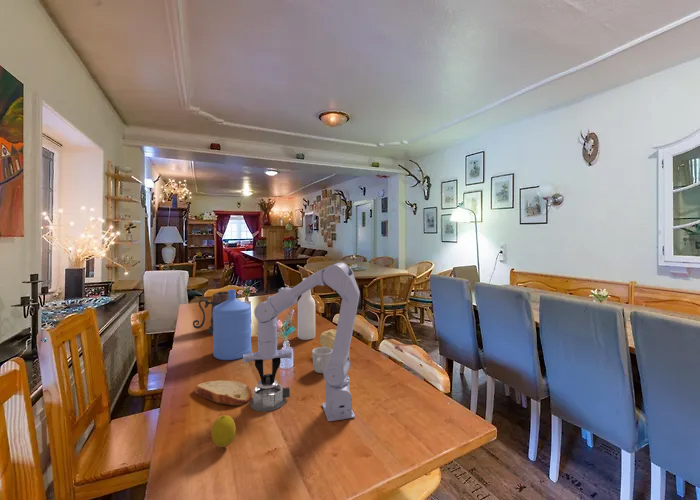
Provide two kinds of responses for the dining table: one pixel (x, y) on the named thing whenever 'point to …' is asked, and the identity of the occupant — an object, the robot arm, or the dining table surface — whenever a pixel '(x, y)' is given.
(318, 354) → the cup
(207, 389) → the slice of bread
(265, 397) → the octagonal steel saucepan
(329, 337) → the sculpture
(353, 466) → the dining table surface
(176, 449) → the dining table surface
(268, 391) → the silver rounded piece
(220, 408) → the dining table surface
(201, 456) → the dining table surface
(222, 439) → the lemon
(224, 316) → the water jug
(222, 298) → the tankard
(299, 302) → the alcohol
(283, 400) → the round metal disc
